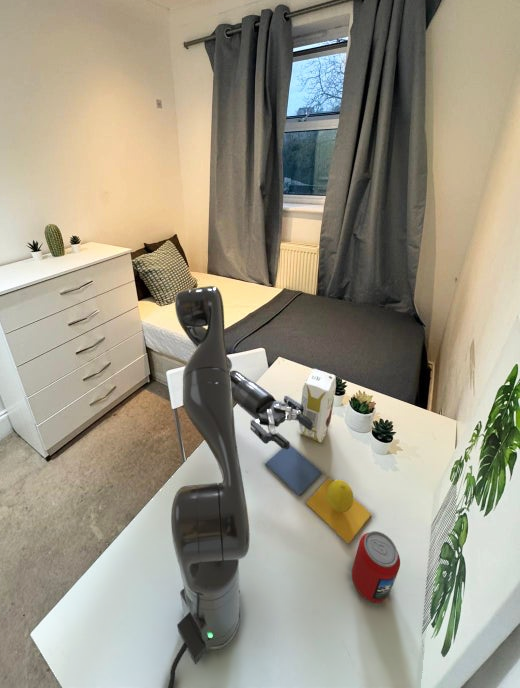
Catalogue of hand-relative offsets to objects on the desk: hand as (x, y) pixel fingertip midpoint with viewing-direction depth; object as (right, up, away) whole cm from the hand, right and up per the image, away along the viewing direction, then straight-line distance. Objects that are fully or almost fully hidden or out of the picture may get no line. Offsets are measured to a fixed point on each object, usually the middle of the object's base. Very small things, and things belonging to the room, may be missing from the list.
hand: (300, 436), depth 78 cm
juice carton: (+8, -6, +17) cm, 20 cm away
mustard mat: (+8, -15, -3) cm, 18 cm away
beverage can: (+10, -21, -15) cm, 28 cm away
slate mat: (0, -11, +7) cm, 13 cm away
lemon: (+8, -15, -3) cm, 17 cm away
